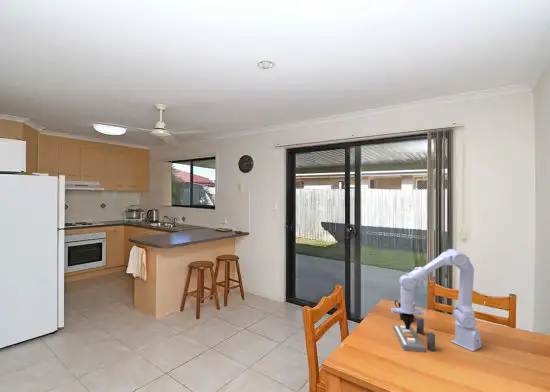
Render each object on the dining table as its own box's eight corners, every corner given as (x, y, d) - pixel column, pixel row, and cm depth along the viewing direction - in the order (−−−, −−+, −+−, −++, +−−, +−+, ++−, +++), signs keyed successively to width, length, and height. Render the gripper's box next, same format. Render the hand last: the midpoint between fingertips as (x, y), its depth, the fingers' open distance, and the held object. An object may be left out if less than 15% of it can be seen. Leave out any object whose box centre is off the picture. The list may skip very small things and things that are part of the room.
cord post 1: (425, 333, 140) (425, 319, 140) (421, 335, 138) (421, 321, 138) (419, 331, 143) (419, 317, 143) (415, 332, 141) (415, 318, 141)
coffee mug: (418, 323, 151) (417, 305, 151) (402, 323, 151) (401, 305, 151) (408, 313, 163) (407, 297, 163) (393, 314, 163) (393, 297, 163)
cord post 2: (436, 350, 125) (436, 334, 125) (432, 352, 124) (432, 336, 124) (429, 346, 128) (429, 331, 128) (425, 348, 126) (425, 333, 126)
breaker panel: (393, 328, 145) (393, 322, 145) (411, 330, 144) (411, 323, 144) (403, 350, 126) (403, 342, 126) (424, 351, 124) (424, 344, 124)
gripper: (420, 298, 137) (420, 325, 137) (389, 296, 140) (389, 323, 140) (425, 304, 130) (425, 332, 130) (392, 302, 133) (393, 330, 133)
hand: (407, 328), depth 135 cm, fingers closed
